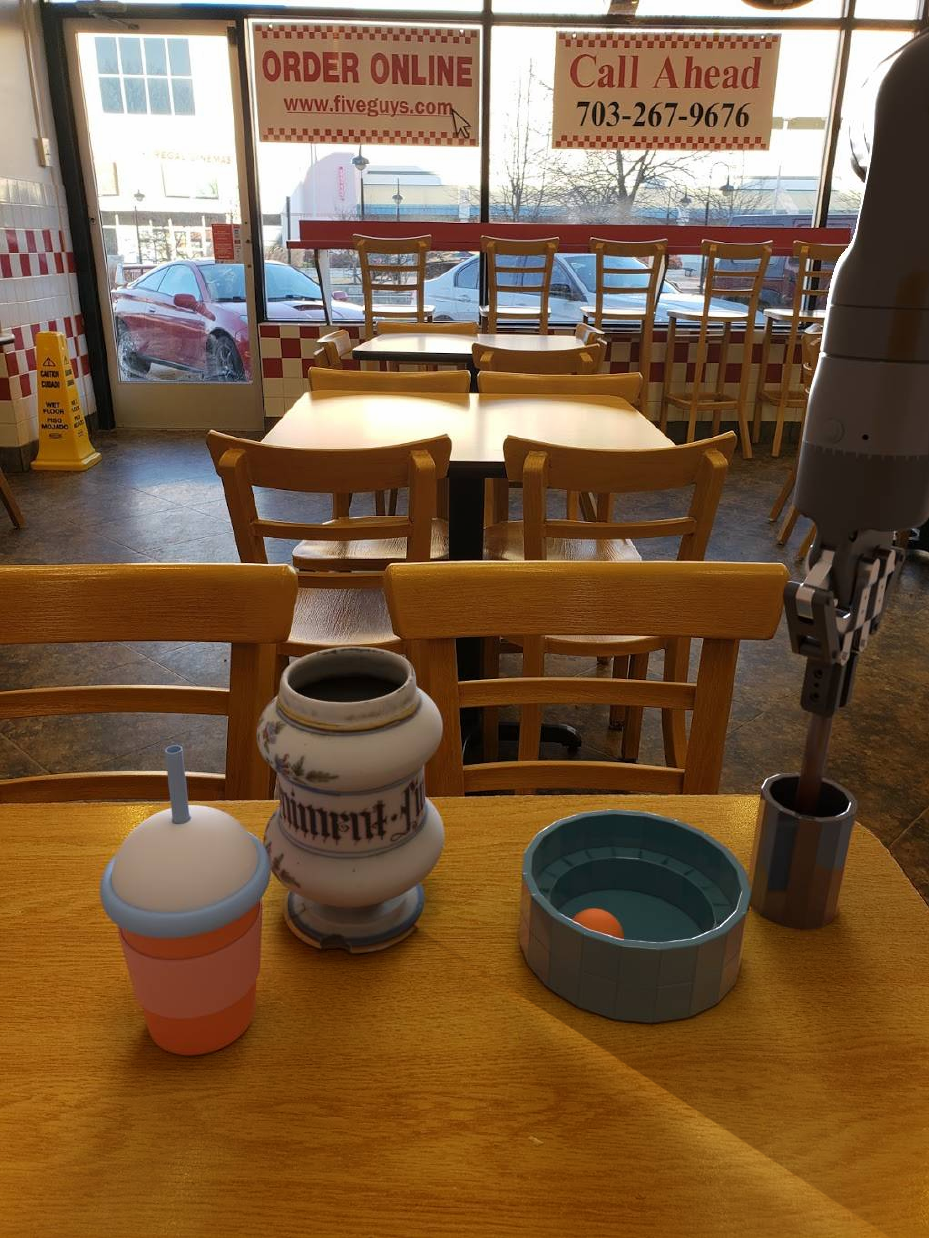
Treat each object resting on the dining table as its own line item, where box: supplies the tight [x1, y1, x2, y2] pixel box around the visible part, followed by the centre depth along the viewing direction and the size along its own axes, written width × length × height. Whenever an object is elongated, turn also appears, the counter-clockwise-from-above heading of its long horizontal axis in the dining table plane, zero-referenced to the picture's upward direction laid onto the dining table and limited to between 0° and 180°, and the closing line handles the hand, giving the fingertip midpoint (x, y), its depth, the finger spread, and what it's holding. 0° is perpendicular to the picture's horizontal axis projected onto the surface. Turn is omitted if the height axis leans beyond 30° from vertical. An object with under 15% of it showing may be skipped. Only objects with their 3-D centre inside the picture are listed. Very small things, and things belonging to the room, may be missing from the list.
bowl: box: [518, 808, 751, 1024], centre depth 61 cm, size 14×14×6 cm
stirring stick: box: [794, 712, 835, 817], centre depth 62 cm, size 1×2×17 cm, turn 48°
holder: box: [747, 772, 859, 931], centre depth 64 cm, size 6×6×9 cm
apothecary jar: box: [256, 646, 445, 955], centre depth 62 cm, size 12×12×18 cm
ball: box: [572, 908, 624, 940], centre depth 59 cm, size 4×4×4 cm
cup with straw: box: [99, 744, 272, 1056], centre depth 52 cm, size 9×9×18 cm
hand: (824, 706), depth 60 cm, fingers closed on stirring stick, 1 cm apart
